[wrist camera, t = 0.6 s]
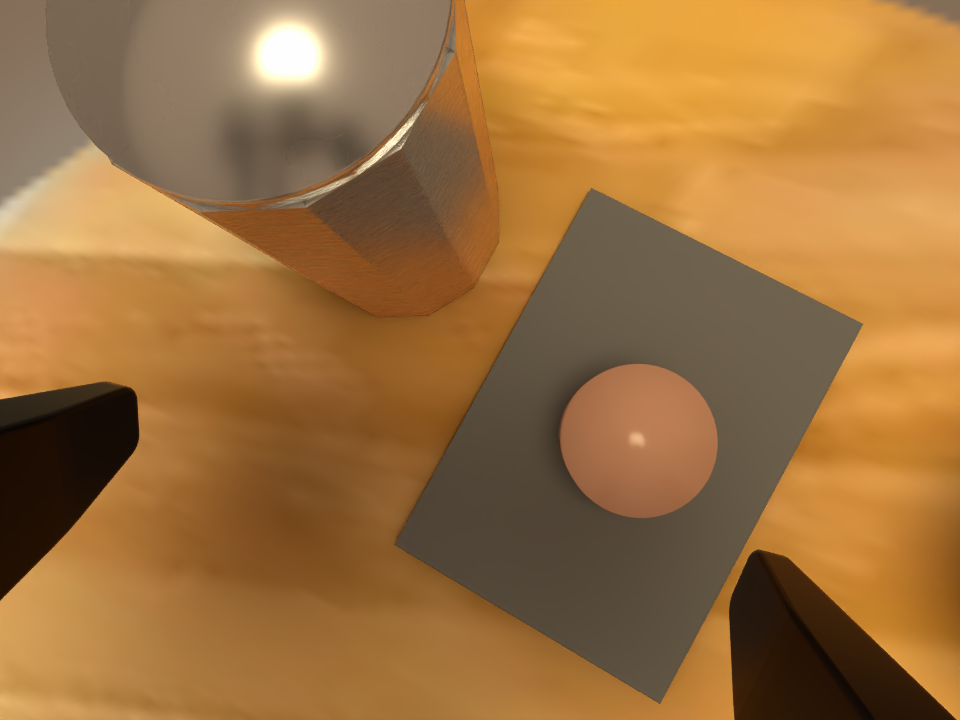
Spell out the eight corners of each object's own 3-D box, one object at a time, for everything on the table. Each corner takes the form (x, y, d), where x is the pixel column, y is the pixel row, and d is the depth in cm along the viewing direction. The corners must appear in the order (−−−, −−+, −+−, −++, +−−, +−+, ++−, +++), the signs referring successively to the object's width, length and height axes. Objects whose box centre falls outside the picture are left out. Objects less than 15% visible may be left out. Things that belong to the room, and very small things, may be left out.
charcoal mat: (657, 698, 21) (659, 703, 20) (396, 542, 22) (394, 544, 22) (857, 325, 21) (863, 324, 21) (590, 191, 22) (591, 188, 22)
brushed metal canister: (438, 351, 22) (315, 275, 10) (272, 259, 23) (-28, 86, 11) (534, 178, 23) (529, -103, 10) (366, 94, 24) (175, -261, 11)
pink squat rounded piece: (652, 528, 21) (671, 547, 18) (534, 461, 21) (534, 469, 18) (715, 411, 21) (745, 410, 18) (597, 347, 22) (607, 336, 19)
